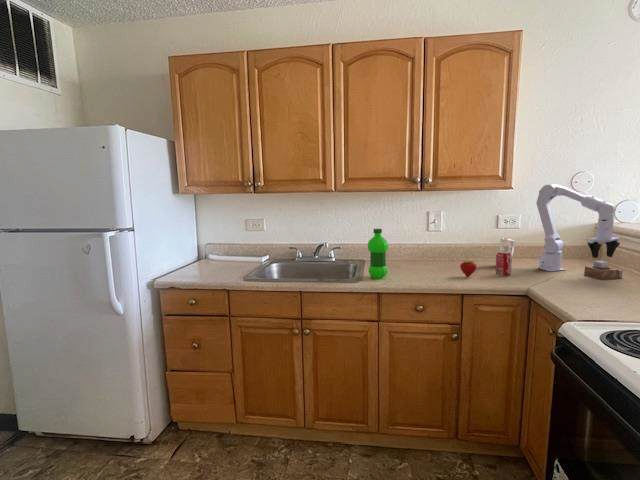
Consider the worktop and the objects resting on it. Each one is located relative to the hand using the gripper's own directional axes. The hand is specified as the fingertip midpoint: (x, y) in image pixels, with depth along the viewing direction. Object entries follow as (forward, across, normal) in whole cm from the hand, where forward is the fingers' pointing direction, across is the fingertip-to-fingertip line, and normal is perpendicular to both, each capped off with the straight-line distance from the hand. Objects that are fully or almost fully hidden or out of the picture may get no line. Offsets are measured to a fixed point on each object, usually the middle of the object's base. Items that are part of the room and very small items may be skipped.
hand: (602, 257), depth 168 cm
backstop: (+9, +5, 0) cm, 11 cm away
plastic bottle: (+10, -103, +23) cm, 106 cm away
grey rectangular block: (+9, 0, 0) cm, 9 cm away
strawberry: (+10, -60, +13) cm, 62 cm away
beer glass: (+10, -29, +29) cm, 42 cm away
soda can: (+10, -42, +12) cm, 45 cm away
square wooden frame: (+9, 0, 0) cm, 9 cm away
